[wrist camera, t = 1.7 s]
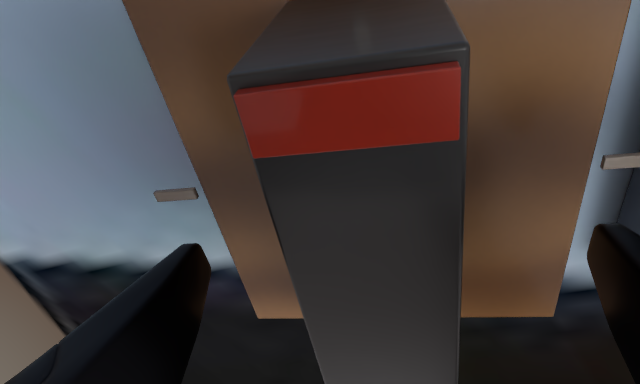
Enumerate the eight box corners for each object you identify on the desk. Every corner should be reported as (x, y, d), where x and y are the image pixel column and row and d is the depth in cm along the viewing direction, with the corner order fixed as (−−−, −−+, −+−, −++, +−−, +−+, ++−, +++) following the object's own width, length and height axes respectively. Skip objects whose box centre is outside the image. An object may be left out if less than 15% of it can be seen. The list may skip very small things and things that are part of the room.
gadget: (438, 292, 14) (458, 439, 10) (347, 294, 15) (335, 433, 11) (434, -25, 8) (475, 47, 5) (285, 0, 9) (217, 83, 5)
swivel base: (574, 273, 16) (603, 331, 14) (241, 282, 19) (224, 331, 17) (705, -213, 8) (818, -248, 6) (91, -70, 11) (21, -59, 9)
